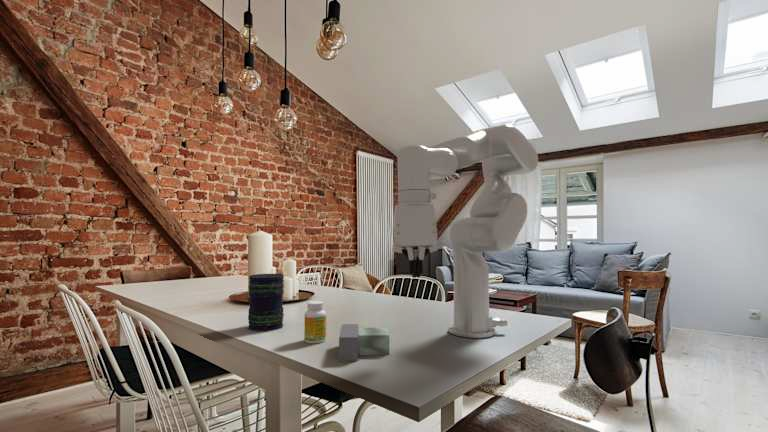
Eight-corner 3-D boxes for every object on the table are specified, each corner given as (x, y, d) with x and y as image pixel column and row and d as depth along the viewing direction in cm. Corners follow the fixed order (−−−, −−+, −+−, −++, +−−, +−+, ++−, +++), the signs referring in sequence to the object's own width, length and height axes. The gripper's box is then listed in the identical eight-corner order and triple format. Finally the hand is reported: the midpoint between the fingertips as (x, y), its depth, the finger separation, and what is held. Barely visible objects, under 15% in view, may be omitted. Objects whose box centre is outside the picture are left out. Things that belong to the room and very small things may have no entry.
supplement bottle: (315, 345, 95) (316, 305, 96) (299, 341, 98) (300, 302, 98) (330, 339, 100) (330, 301, 100) (314, 336, 103) (314, 299, 103)
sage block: (387, 346, 95) (387, 327, 95) (389, 355, 88) (389, 335, 88) (359, 346, 95) (359, 327, 95) (358, 355, 88) (358, 335, 88)
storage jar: (290, 326, 114) (290, 275, 114) (260, 333, 106) (261, 278, 107) (270, 321, 120) (271, 273, 121) (241, 327, 113) (242, 275, 113)
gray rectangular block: (358, 344, 96) (358, 324, 96) (357, 360, 84) (357, 337, 84) (341, 344, 95) (342, 324, 96) (339, 361, 83) (339, 337, 84)
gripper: (442, 199, 96) (444, 273, 96) (381, 200, 95) (383, 275, 95) (449, 197, 88) (451, 278, 88) (383, 198, 88) (385, 280, 87)
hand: (415, 276), depth 91 cm, fingers closed
